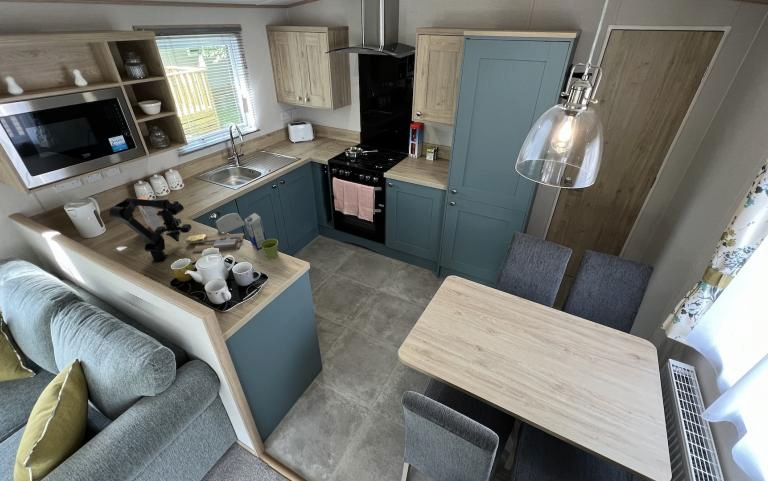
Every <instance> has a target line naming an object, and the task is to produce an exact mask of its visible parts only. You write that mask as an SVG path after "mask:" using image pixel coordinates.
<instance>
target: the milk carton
mask: <svg viewBox="0 0 768 481" xmlns="http://www.w3.org/2000/svg"><path fill="white" fill-rule="evenodd" d="M244 223H245V226H246V229H247V233H248V236H249V240H250V243H251V246H252V247H253V248H254V249H255V250H257V251H259V250H263V248H262V247H261V243H262V242H263V241H265V240H267V238H266V233H265V229H264V226H263V222H262V218H261V216H259V214H257V213H255V212H253V213H252V214H250V215H249V216H247V217H246V218H245V219H244Z"/></svg>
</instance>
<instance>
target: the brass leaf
mask: <svg viewBox="0 0 768 481" xmlns="http://www.w3.org/2000/svg"><path fill="white" fill-rule="evenodd" d="M206 238H207V234H205V233H204V234H195V235H188V237H187V238H186V239H185V243H186V245H190V244H191V245H192V244H197V243H198V242H197V241H204V240H206Z"/></svg>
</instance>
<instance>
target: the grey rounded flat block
mask: <svg viewBox="0 0 768 481" xmlns="http://www.w3.org/2000/svg"><path fill="white" fill-rule="evenodd" d="M214 223H215V227H216V229H217V232H218V233H220V235H225V234H227V233H229V232H231V231H233V230H236V229H238V228H240V227H243V226H246V223H245V221H243V219H242V217H241V216H240V214H239V213H238V212H232V213H227V214H225V215H222V216H220V217H219V218H218V219H216V220H215V222H214ZM222 232H224V233H222Z"/></svg>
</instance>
